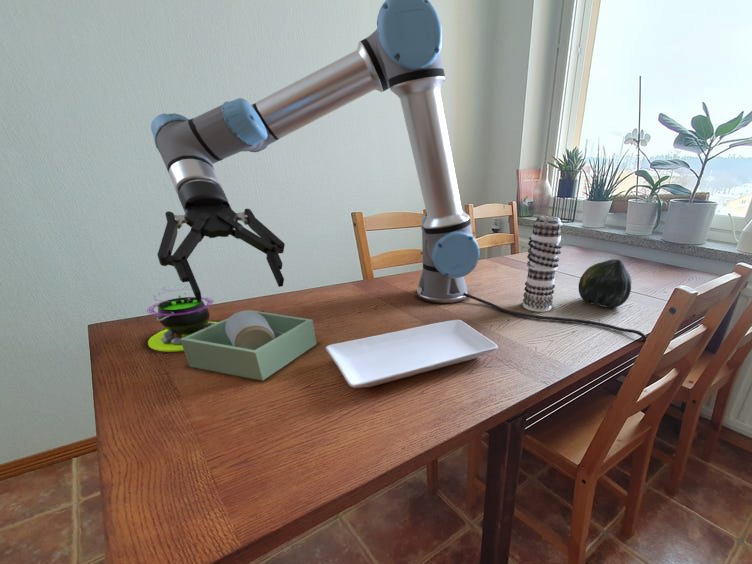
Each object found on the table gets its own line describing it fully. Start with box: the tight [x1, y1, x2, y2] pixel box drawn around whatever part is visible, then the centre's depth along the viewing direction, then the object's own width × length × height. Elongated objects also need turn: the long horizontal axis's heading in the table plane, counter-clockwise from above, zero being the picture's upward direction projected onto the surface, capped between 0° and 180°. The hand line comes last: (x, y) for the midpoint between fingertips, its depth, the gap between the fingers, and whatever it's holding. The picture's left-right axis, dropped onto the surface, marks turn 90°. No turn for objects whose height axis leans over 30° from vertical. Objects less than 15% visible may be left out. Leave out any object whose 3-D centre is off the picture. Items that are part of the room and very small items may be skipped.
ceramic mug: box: [225, 310, 284, 350], centre depth 75 cm, size 11×8×8 cm
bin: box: [180, 309, 318, 381], centre depth 75 cm, size 16×16×6 cm
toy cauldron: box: [146, 283, 218, 353], centre depth 79 cm, size 15×15×11 cm
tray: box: [325, 319, 499, 389], centre depth 77 cm, size 17×31×4 cm, turn 124°
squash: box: [578, 258, 632, 309], centre depth 112 cm, size 14×15×15 cm
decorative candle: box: [522, 215, 564, 313], centre depth 104 cm, size 9×9×25 cm
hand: (242, 289), depth 69 cm, fingers open, 13 cm apart
